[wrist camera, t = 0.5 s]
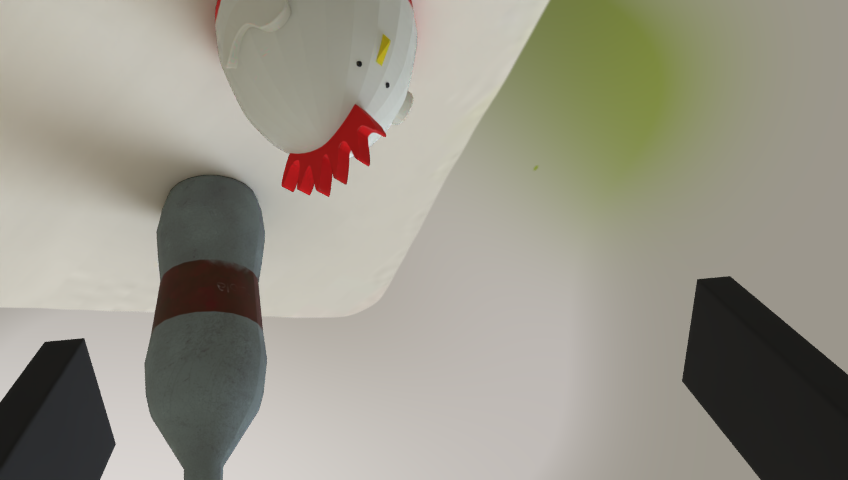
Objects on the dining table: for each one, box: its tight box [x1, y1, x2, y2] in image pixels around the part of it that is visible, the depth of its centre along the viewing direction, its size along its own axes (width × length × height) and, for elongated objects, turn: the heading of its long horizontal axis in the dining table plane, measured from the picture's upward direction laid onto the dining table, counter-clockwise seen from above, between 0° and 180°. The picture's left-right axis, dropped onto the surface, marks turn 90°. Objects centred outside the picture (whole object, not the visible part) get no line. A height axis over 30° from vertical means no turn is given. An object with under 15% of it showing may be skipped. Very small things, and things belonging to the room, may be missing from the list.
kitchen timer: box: [215, 0, 417, 197], centre depth 43 cm, size 14×14×15 cm
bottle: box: [145, 175, 267, 480], centre depth 53 cm, size 9×9×30 cm
